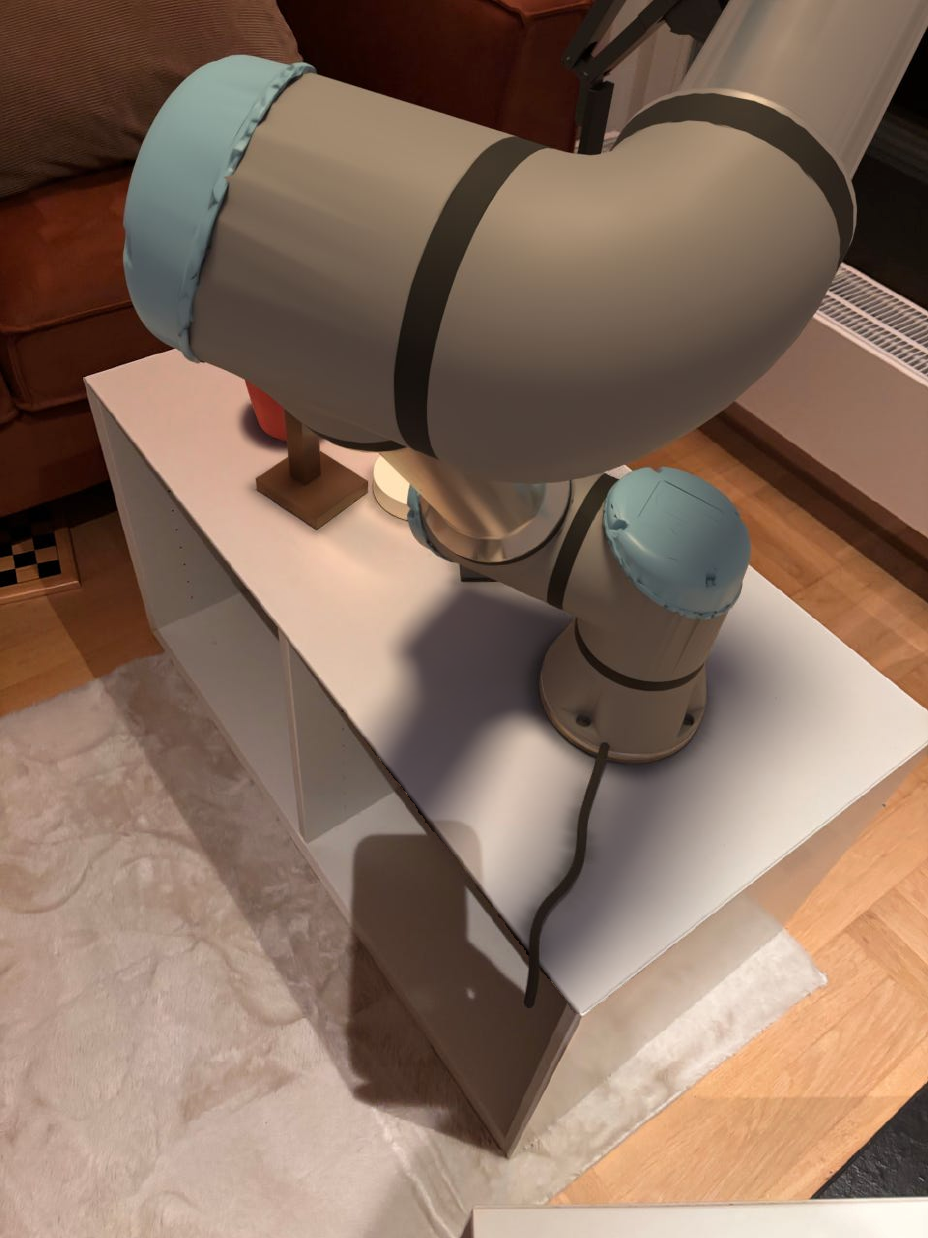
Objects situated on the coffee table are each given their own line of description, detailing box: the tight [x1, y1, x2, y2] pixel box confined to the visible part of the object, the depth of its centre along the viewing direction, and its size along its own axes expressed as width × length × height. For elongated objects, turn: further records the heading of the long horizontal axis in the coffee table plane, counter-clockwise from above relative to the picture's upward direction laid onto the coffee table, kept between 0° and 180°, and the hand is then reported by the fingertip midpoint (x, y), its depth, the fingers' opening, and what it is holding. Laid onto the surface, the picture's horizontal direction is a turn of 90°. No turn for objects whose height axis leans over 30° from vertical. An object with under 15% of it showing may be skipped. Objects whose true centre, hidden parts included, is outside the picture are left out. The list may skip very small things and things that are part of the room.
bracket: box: [372, 455, 410, 521], centre depth 102 cm, size 20×9×7 cm, turn 123°
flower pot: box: [244, 380, 287, 442], centre depth 104 cm, size 11×11×10 cm
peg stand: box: [255, 409, 369, 530], centre depth 86 cm, size 17×8×35 cm, turn 52°
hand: (655, 198), depth 76 cm, fingers open, 13 cm apart
